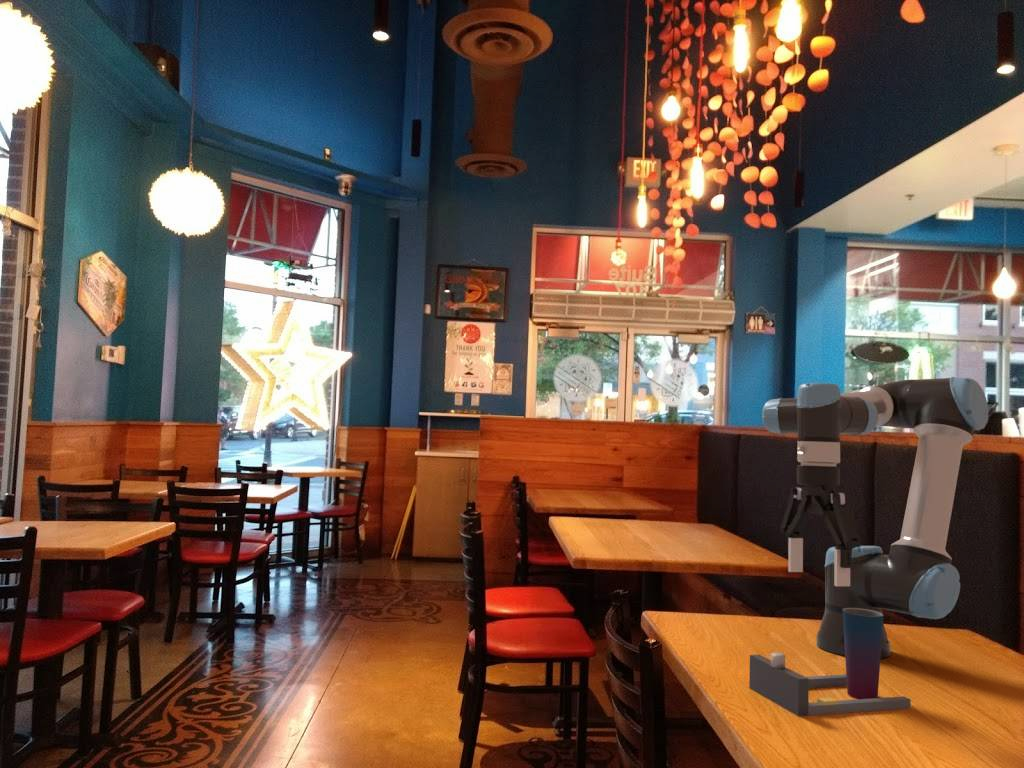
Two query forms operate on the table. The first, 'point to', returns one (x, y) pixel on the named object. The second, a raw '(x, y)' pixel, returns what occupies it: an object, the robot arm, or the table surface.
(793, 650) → the table surface
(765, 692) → the grey u-shaped fork
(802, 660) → the table surface
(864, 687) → the cup
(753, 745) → the table surface
